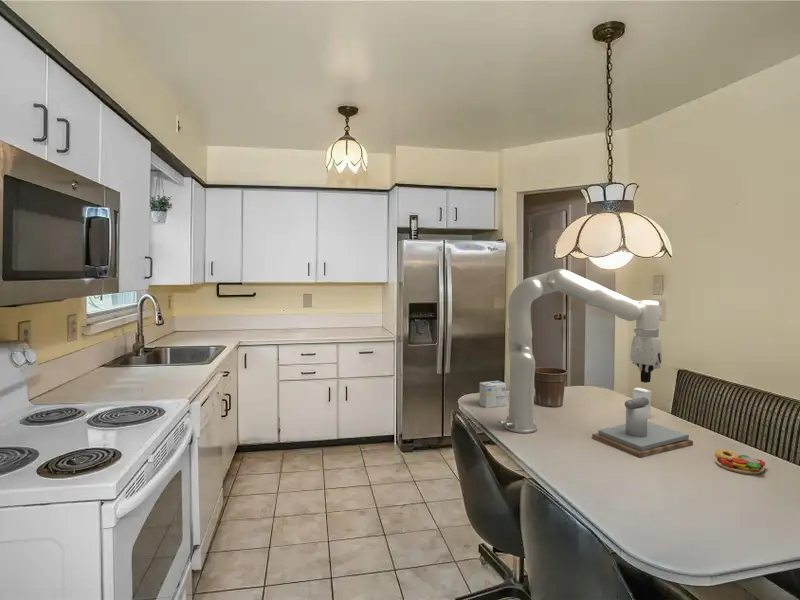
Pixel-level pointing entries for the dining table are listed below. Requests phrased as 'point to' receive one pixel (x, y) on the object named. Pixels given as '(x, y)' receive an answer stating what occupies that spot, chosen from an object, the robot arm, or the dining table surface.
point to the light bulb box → (492, 394)
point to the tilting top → (641, 429)
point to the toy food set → (738, 462)
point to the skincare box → (643, 393)
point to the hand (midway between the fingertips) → (645, 381)
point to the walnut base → (645, 452)
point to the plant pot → (549, 386)
